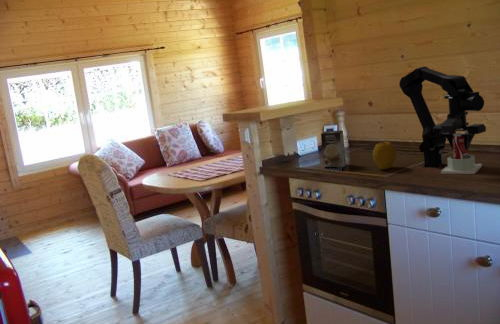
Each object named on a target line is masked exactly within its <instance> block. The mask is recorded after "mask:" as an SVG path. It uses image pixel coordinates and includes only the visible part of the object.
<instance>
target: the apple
mask: <svg viewBox="0 0 500 324" xmlns="http://www.w3.org/2000/svg"><path fill="white" fill-rule="evenodd" d="M372 159H373V162H374V163H375V165H376V166H377V167H378V168H379V169H380V170H388V169H391V168H392V167H393V165H394V163H395V162H396V159H397V151H396V148H395V146H394V145H393V144H392V143H391V142H390V141H382V142H379V143H377V144H375V146H374V148H373V151H372Z"/></svg>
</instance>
